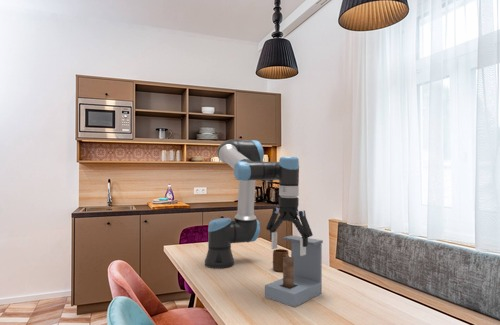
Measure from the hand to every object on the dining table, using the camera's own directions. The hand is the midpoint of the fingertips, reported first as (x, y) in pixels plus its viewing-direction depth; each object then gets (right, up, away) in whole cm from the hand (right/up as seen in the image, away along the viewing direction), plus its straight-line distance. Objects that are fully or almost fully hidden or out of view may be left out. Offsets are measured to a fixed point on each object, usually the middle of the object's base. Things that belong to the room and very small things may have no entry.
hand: (288, 251), depth 131 cm
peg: (0, -17, -1) cm, 17 cm away
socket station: (+2, -17, +2) cm, 18 cm away
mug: (+1, -18, +33) cm, 38 cm away
